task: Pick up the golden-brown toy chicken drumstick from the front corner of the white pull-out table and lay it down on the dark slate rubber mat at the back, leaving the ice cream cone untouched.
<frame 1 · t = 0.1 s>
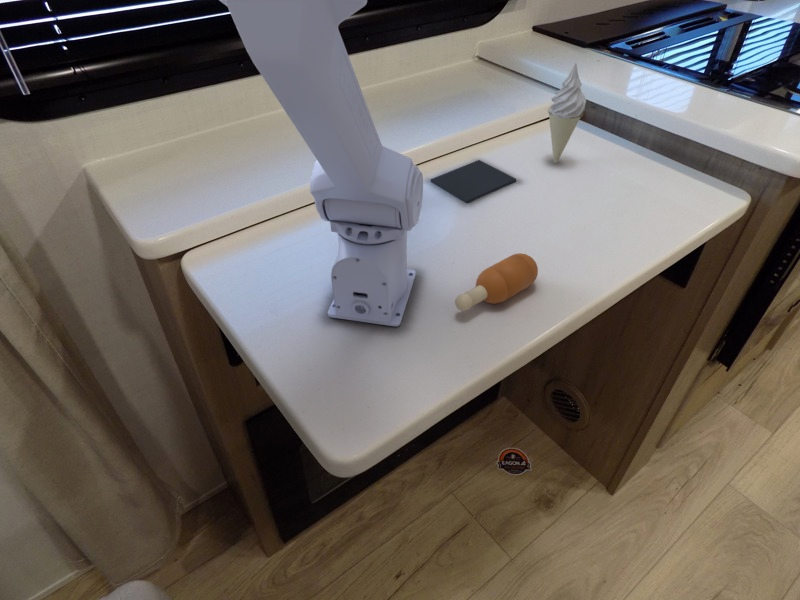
drumstick: (498, 295, 59), on the countertop
ice cream cone: (555, 163, 83), on the countertop
mat: (473, 181, 79), on the countertop
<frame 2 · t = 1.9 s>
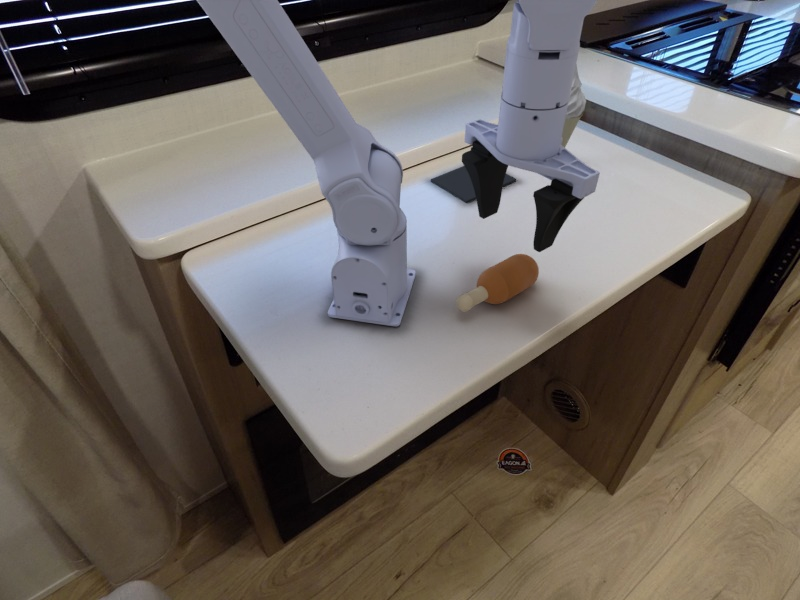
hand: (514, 230, 54), 8 cm above the countertop, tool pointing down, fingers open, 7 cm apart
nothing on the countertop moved.
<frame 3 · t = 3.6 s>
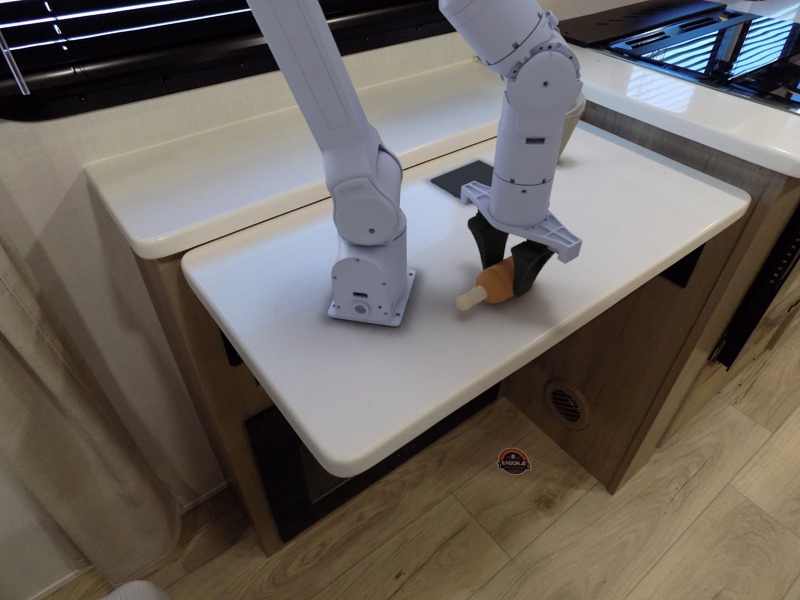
hand: (506, 282, 59), 1 cm above the countertop, tool pointing down, fingers closed on drumstick, 4 cm apart
drumstick: (498, 295, 59), on the countertop, touching gripper
everything else where it was.
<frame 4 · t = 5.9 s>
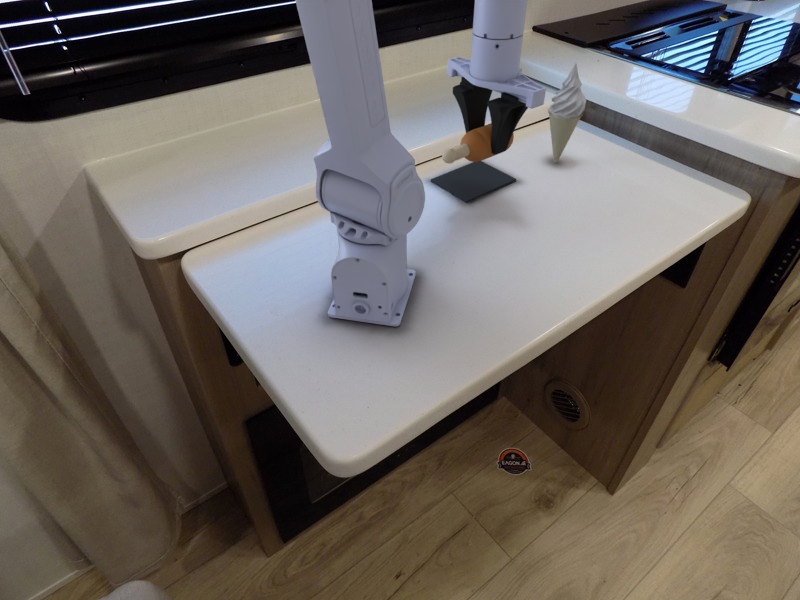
hand: (486, 145, 69), 8 cm above the countertop, tool pointing down, fingers closed on drumstick, 4 cm apart
drumstick: (480, 158, 69), point 7 cm above the countertop, touching gripper
everything else where it was.
when the fingers open (2 cm above the countertop, at t = 8.4 s): drumstick stays where it is, resting on mat.
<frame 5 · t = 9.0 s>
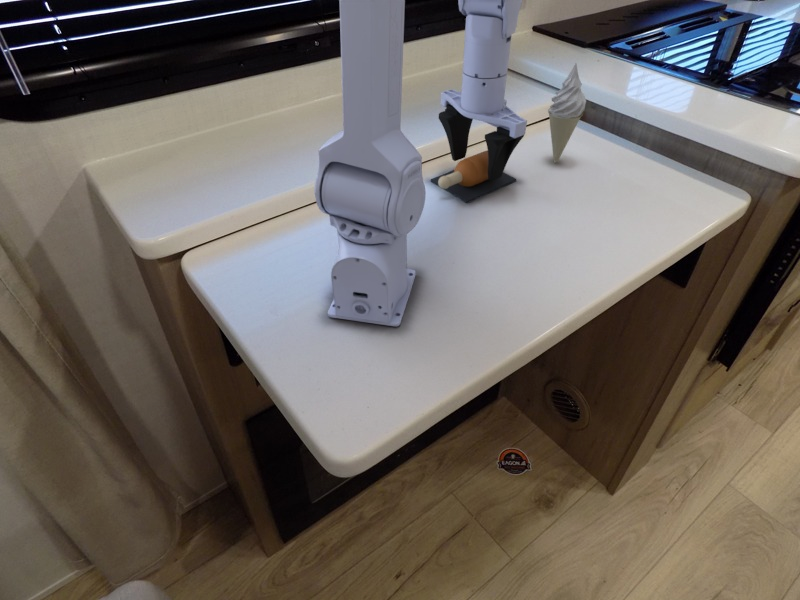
hand: (476, 167, 77), 2 cm above the countertop, tool pointing down, fingers open, 7 cm apart
drumstick: (470, 181, 78), on the countertop, tilted 11°, touching mat
everything else where it was.
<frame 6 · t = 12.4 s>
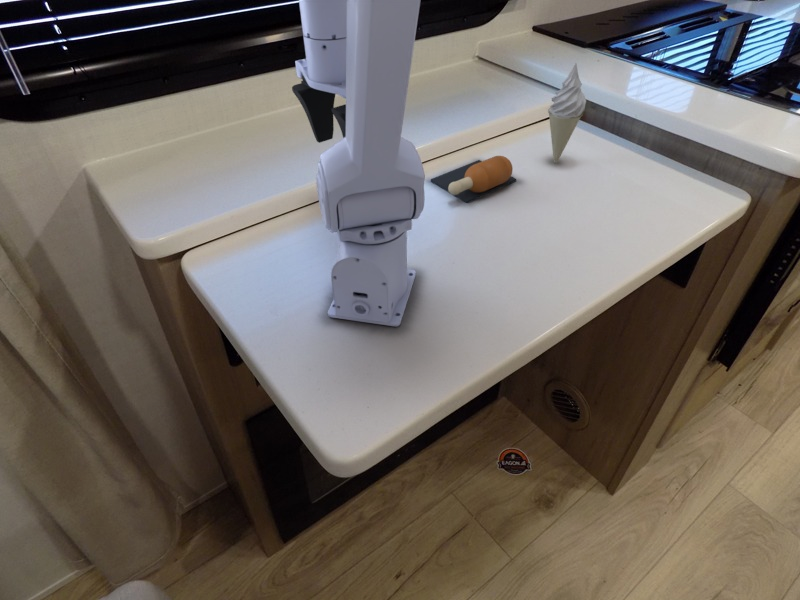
hand: (340, 150, 67), 9 cm above the countertop, tool pointing down, fingers open, 7 cm apart
drumstick: (473, 174, 77), point 2 cm above the countertop, tilted 73°, touching mat
everything else where it was.
at the end: drumstick 1.4 cm off-centre on the mat, point 1.9 cm above the mat's base; the gripper is holding nothing; ice cream cone moved 0.2 cm from its start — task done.
